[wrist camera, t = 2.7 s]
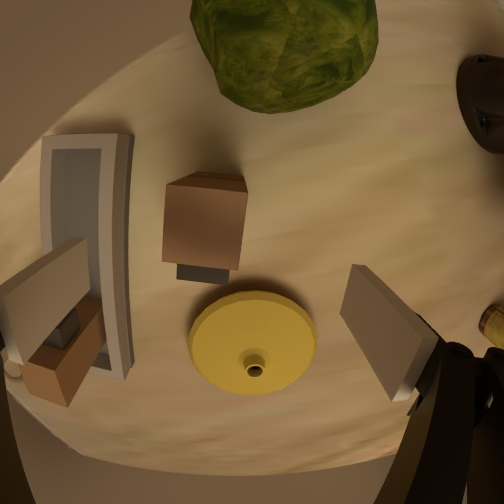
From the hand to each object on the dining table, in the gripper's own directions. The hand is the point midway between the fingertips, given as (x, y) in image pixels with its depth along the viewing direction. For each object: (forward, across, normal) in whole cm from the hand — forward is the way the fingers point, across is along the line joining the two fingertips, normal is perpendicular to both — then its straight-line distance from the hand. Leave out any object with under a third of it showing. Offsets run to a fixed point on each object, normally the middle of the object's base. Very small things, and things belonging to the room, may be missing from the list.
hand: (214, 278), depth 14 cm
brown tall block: (+19, -1, 0) cm, 19 cm away
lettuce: (+19, +2, +21) cm, 29 cm away
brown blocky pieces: (+19, -16, -8) cm, 26 cm away
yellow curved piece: (+20, +5, -16) cm, 26 cm away
